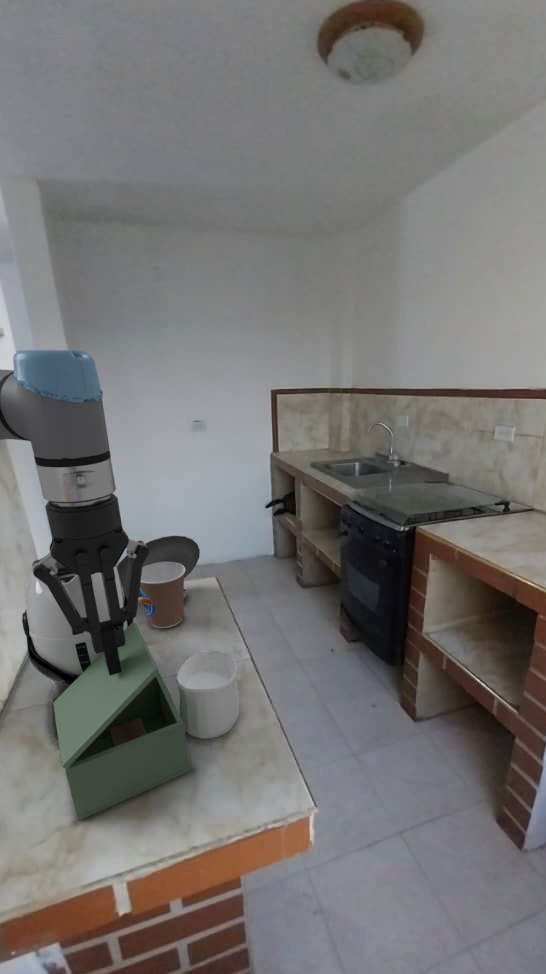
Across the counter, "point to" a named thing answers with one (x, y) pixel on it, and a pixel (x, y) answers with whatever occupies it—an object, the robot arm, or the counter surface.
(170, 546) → the plate
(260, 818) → the counter surface
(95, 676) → the lid
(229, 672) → the cup
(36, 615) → the kettle
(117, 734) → the block
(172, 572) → the coffee cup
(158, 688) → the chest
